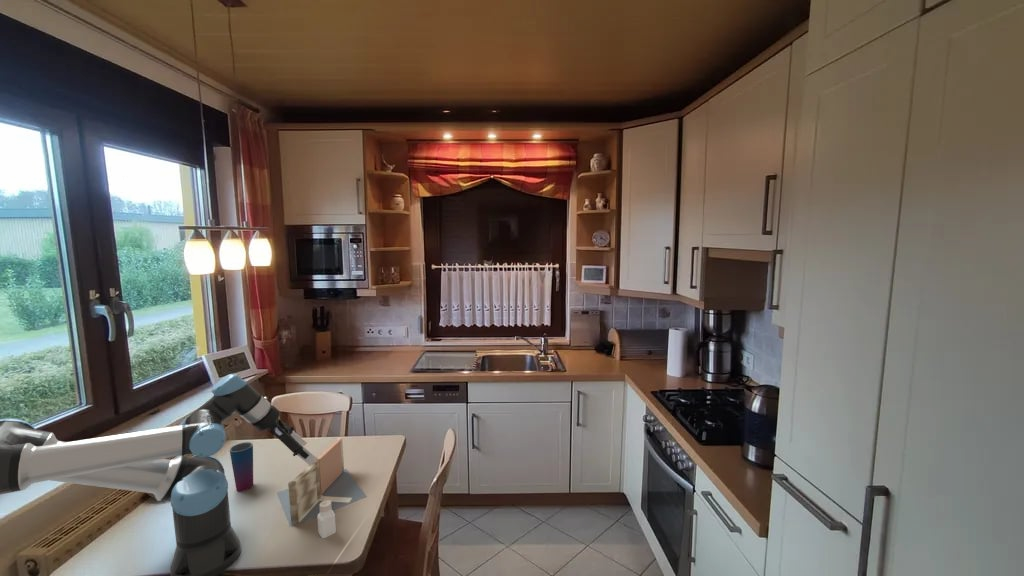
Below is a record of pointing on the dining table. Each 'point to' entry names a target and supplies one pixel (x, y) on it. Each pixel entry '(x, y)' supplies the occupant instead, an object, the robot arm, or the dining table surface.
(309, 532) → the dining table surface
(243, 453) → the cup
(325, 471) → the pink wooden flat board
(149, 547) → the dining table surface
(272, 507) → the dining table surface
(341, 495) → the card
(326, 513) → the salt shaker
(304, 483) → the fixed fence section
